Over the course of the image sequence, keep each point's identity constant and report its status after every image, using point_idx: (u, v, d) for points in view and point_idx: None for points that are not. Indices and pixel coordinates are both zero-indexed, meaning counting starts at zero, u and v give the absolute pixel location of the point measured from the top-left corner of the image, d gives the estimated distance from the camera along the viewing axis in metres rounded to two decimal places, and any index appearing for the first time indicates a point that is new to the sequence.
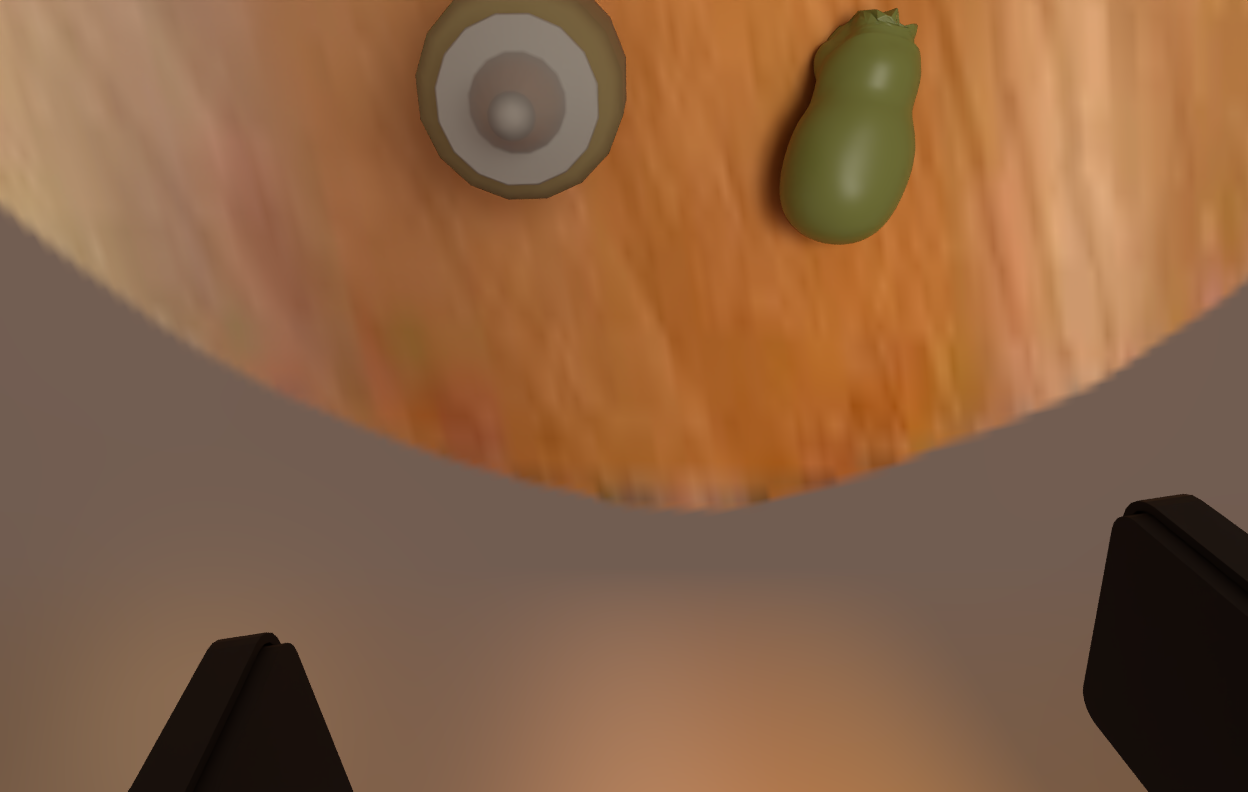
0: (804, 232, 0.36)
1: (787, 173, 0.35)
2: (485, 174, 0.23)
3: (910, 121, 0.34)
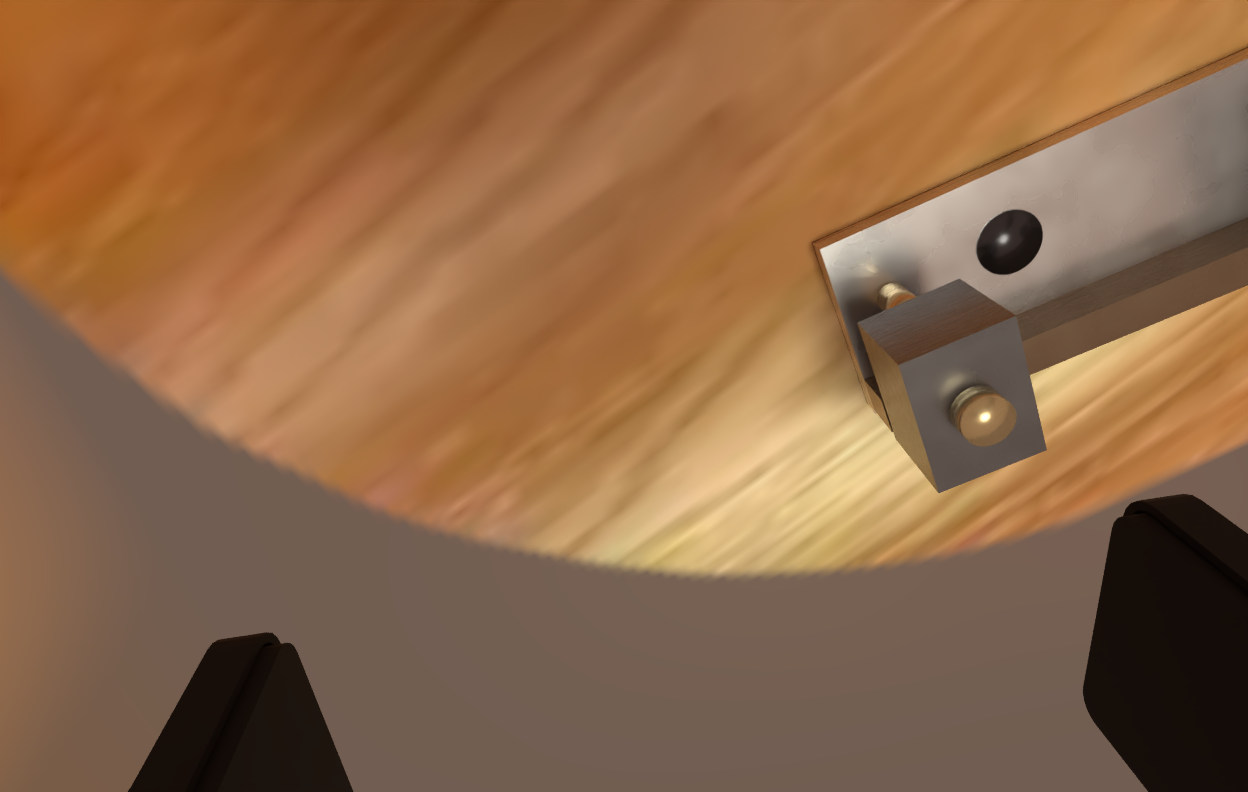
0: None
1: None
2: None
3: None
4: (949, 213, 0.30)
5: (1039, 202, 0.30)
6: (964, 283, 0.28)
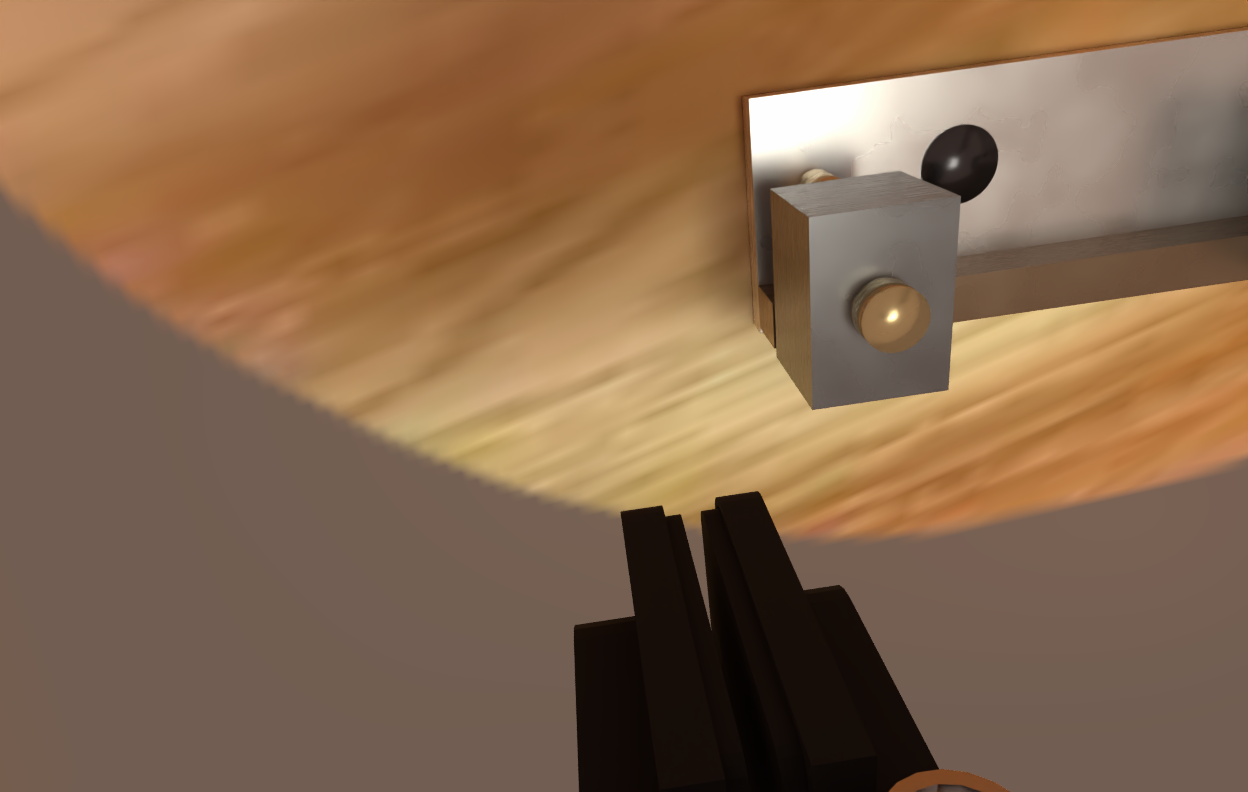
0: None
1: None
2: None
3: None
4: (904, 104, 0.25)
5: (1003, 126, 0.26)
6: (904, 173, 0.23)
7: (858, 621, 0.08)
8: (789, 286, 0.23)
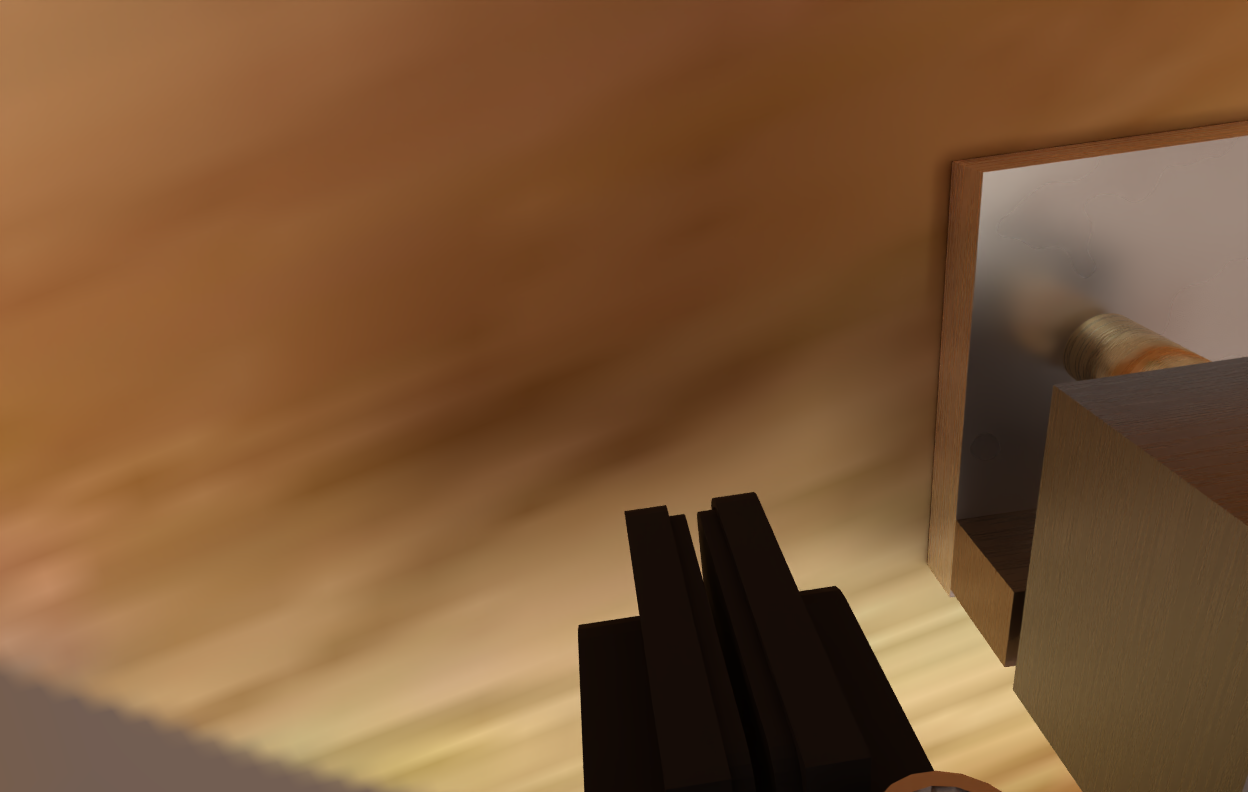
0: None
1: None
2: None
3: None
4: None
5: None
6: None
7: (854, 622, 0.08)
8: (1116, 627, 0.10)
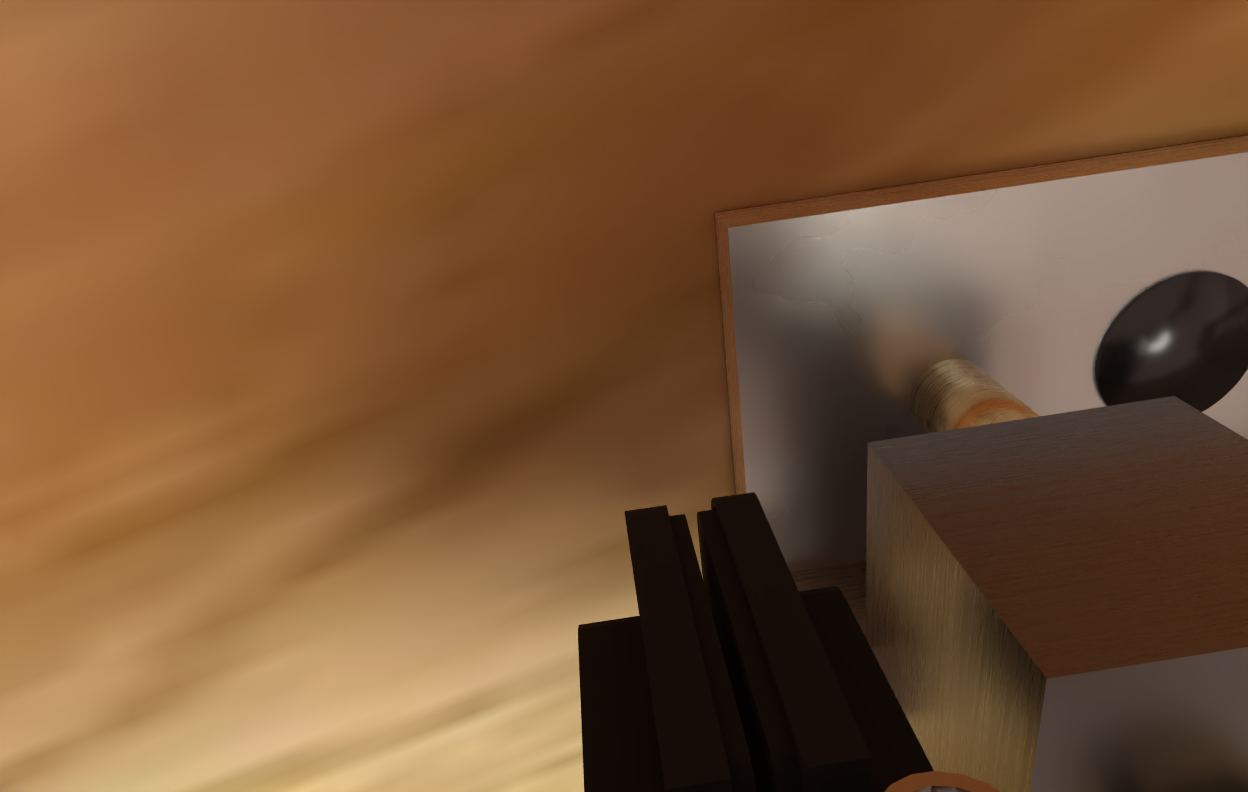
0: None
1: None
2: None
3: None
4: (1073, 233, 0.11)
5: None
6: (1200, 415, 0.10)
7: (854, 622, 0.08)
8: (923, 702, 0.09)
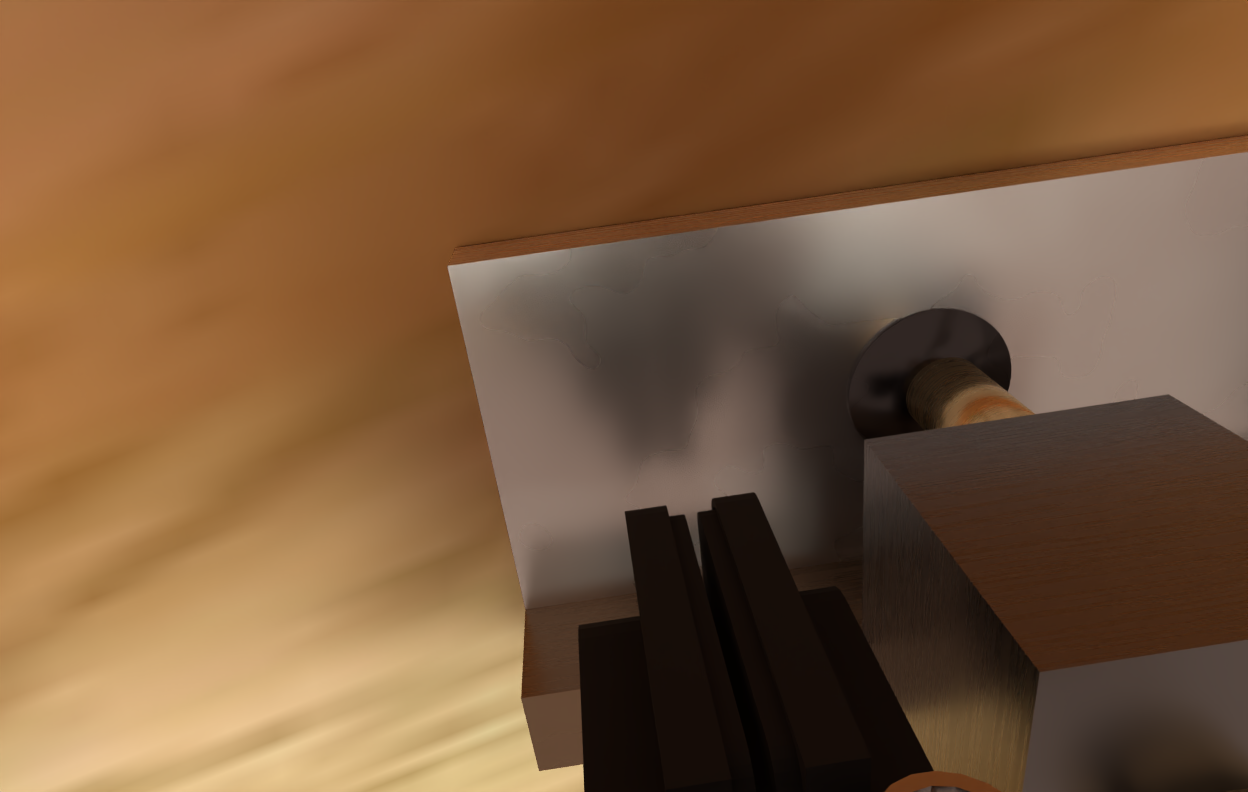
0: None
1: None
2: None
3: None
4: (805, 271, 0.11)
5: (1023, 309, 0.12)
6: (1194, 413, 0.10)
7: (854, 622, 0.08)
8: (918, 697, 0.09)
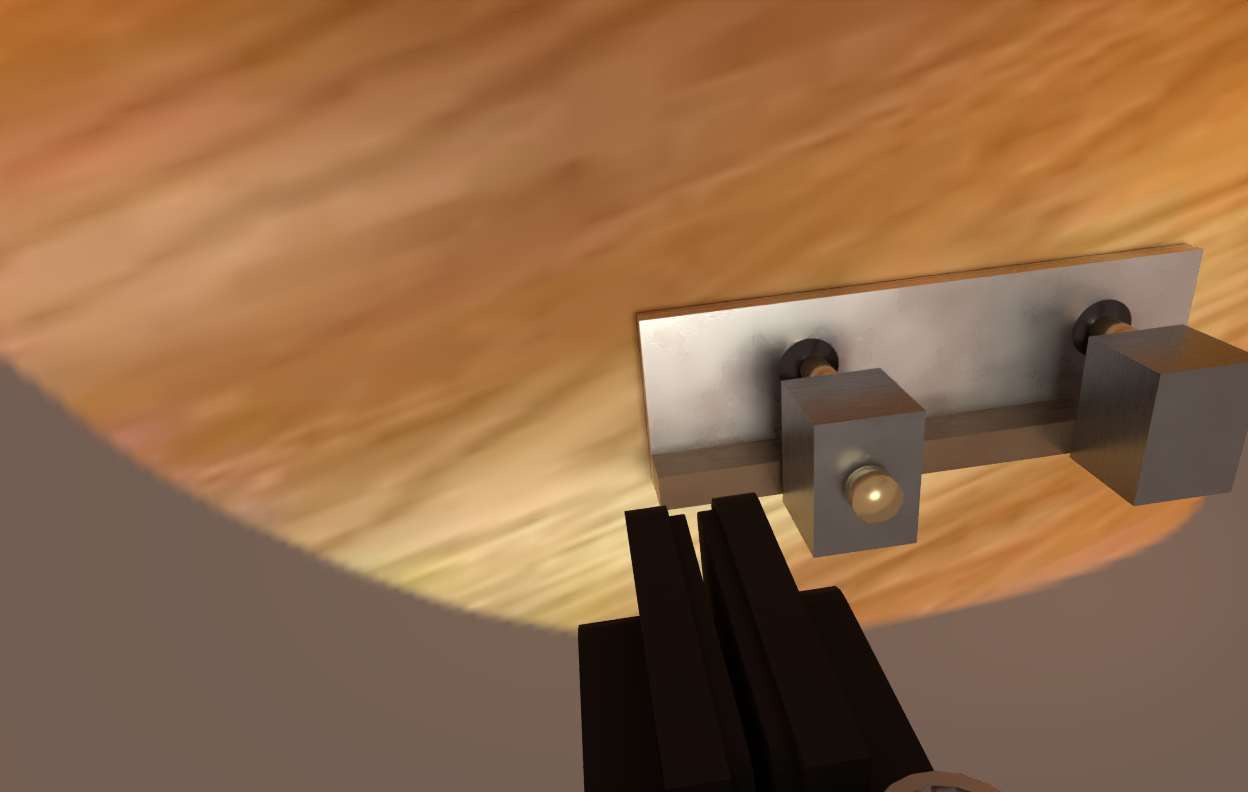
0: None
1: None
2: None
3: None
4: (762, 324, 0.32)
5: (841, 339, 0.33)
6: (883, 372, 0.30)
7: (854, 622, 0.08)
8: (796, 459, 0.30)
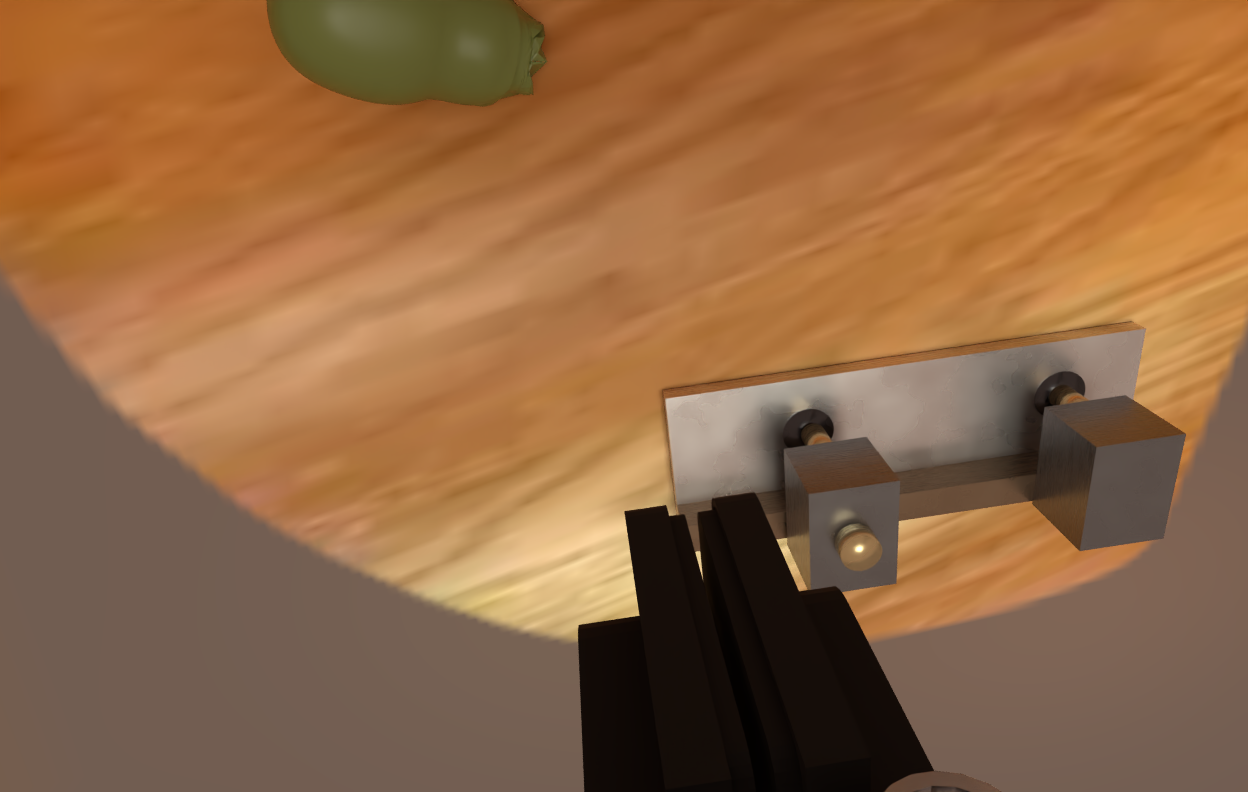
0: None
1: None
2: None
3: (427, 86, 0.29)
4: (768, 398, 0.38)
5: (835, 409, 0.39)
6: (869, 442, 0.37)
7: (854, 622, 0.08)
8: (796, 515, 0.36)
